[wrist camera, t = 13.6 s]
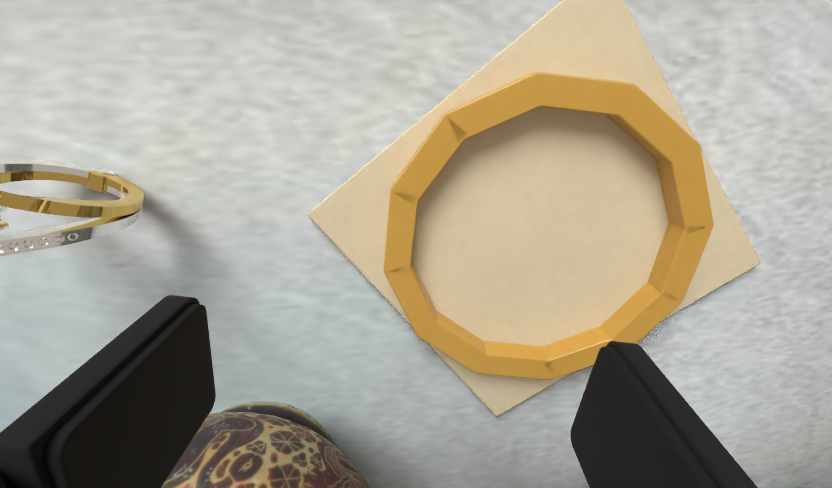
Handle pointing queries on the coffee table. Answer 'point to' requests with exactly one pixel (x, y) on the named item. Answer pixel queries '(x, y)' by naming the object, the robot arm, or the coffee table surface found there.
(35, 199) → the ring
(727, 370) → the coffee table surface
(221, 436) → the ceramic bowl
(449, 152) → the ring
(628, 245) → the mat
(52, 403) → the robot arm
